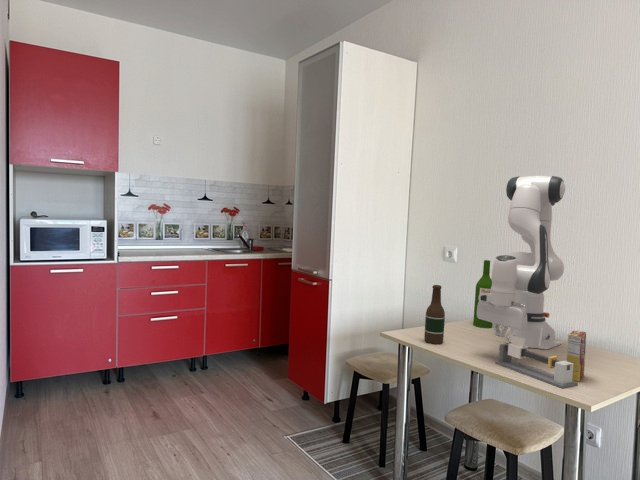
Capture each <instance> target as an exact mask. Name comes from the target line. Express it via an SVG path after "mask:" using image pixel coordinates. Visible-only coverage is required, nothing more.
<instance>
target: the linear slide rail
mask: <svg viewBox="0 0 640 480" xmlns="http://www.w3.org/2000/svg"><path fill="white" fill-rule="evenodd" d="M508 344H511V342H506V343H499V350H498V360H495V362H494V364H496V365H499V366H501V367H503V368H507V369H509V370H512V371H514V372H517V373H519V374H522V375H524V376H528V377H530V378H533V379H535V380H538V381H541V382H544V383H546V384H549V385H552V386H555V387H556V388H560V389H562V390H563V389H566V388H567V389H568V388H571V387H576V386H578V383H579V382H576V381H572V377H573V364H574V363H570V362H567V360H558V358H559V357H558V356H557V355H553V356H546V355H543V354H539V353H536V352H533V351H530V350H528V351H527V350H524V349H522V350H521V355H522V356H525V357H527V358H528V359H531V360H535V361H537V362H540V363H543V364H546V365H547V369H550V370H551V369H554V373H551V372H549V371H546V370H542V369H540V368H537V367H535V366H531V365H528V364H525V363H524V362H521V361H518V360H514V359H512V357H513V356H510V355H508Z"/></svg>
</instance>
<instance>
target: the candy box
mask: <svg viewBox="0 0 640 480" xmlns="http://www.w3.org/2000/svg"><path fill="white" fill-rule="evenodd" d="M586 340H587V332H586V331H581V330H572V331H571V332H569V334H568V335H567V348H566V349H567V350H566V351H567V352H566V361H567V362H570V363H574V364H573V377H572V381H574V382H577V383H579V382H581V380H582V379H583V378H584V376H585V367H586V366H585V364H586V344H587V343H586V342H587V341H586Z"/></svg>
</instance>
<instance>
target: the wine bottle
mask: <svg viewBox="0 0 640 480" xmlns="http://www.w3.org/2000/svg"><path fill="white" fill-rule="evenodd" d="M482 270H483V271H482V276H481V277H480V278H479V280H478V281H477V282H476V285H475V294H474V295H475V296H474V307H473V309H474V310H473V322H472V323H473V326H474V327H476V328H482V329H491V328H493V323H492V322H488V321H485V320H481V319H478V317H477V305H478V302H479V301H480V300H479V295H483V294H488V293H490V290H491V287H492V280H491V275H490V274H491V260H488V259H483V269H482Z"/></svg>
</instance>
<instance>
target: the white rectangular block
mask: <svg viewBox="0 0 640 480" xmlns="http://www.w3.org/2000/svg"><path fill="white" fill-rule="evenodd" d="M525 342H526V339H525V338H522V337H519V336H515V335H512V340H511V342H510V343H511V344H508V355H510V356H512V357H513V358H516V359H519V360H522V359H527V358H528V357H525V356H522V355H521V350H522V349H524V350H527V351H529V347H528V346H525Z"/></svg>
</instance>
